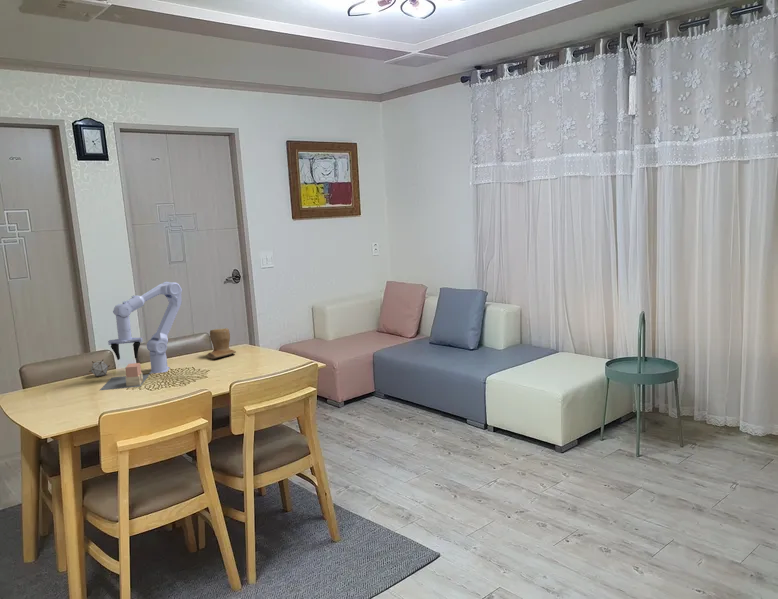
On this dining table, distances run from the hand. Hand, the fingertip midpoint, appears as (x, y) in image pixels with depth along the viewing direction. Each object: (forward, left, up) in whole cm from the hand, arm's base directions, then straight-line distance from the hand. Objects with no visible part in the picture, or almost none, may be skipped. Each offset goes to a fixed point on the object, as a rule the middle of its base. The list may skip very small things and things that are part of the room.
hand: (127, 358), depth 283 cm
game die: (-9, -15, -10) cm, 20 cm away
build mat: (+8, 0, -9) cm, 12 cm away
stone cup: (-30, +39, -10) cm, 50 cm away
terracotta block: (+13, +5, -5) cm, 15 cm away
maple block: (+13, +5, -9) cm, 17 cm away
